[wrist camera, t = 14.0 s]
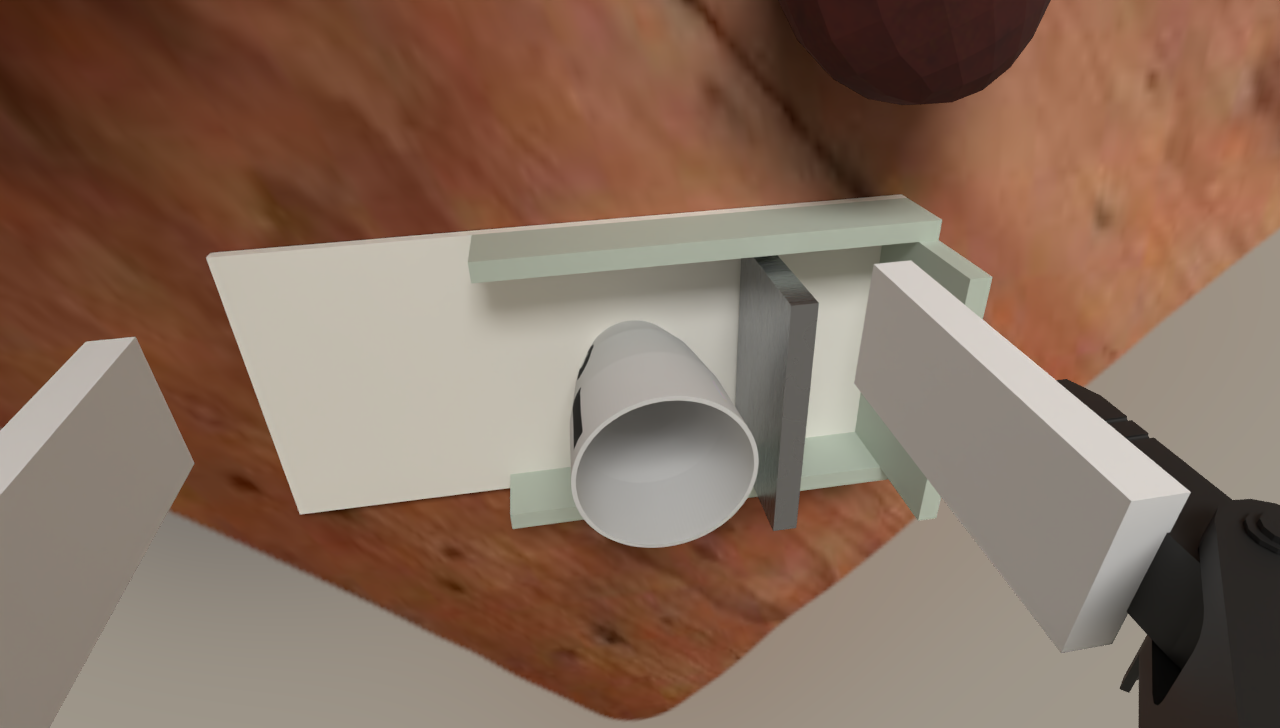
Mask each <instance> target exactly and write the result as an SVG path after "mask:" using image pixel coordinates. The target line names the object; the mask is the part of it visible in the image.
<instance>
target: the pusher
mask: <svg viewBox="0 0 1280 728" xmlns="http://www.w3.org/2000/svg"><path fill="white" fill-rule="evenodd" d="M818 308H819V302H818V301H817V300H816V299H815V298H814V297H813V296H812V294H811V293H810V292H809V291H808V290H807V289H806V287H805V286H804V285H803V284H802V283H801V282H800V281H799V279H798V278H797V277H796V276H795V275H794V274H793V272H792V271H791V270H790V269H789V268H788V267H787V266H786V264H785V263H784V262H783V261H782V260H781V259H780V257H779V256H778V255H772V256H762V257H751V258H741V276H740V301H739V327H738V352H737V378H736V403H735V407H736V409H737V411H738V412H739V414H740V415H741V417H742V419H743V420H744V422H745V423H746V425H747V427H748V428H749V430H750V432H751V433H752V435H753V437H754V440H755V442H756V446H757V450H758V459H759V464H758V472H757V477H756V480H755V483H754V486H753V487H754V489H755V491H756V494H757V496H758V498H759V500H760V502H761V505H762V507H763V509H764V511H765V514H766V516H767V518H768V520H769V523H770V525H771V527H772V529H773V531H776V530H784V529H791V528H796V524H797V514H798V504H799V495H800V485H801V475H802V465H803V455H804V445H805V436H806V426H807V416H808V406H809V396H810V386H811V377H812V367H813V357H814V347H815V337H816V327H817V318H818Z"/></svg>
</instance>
